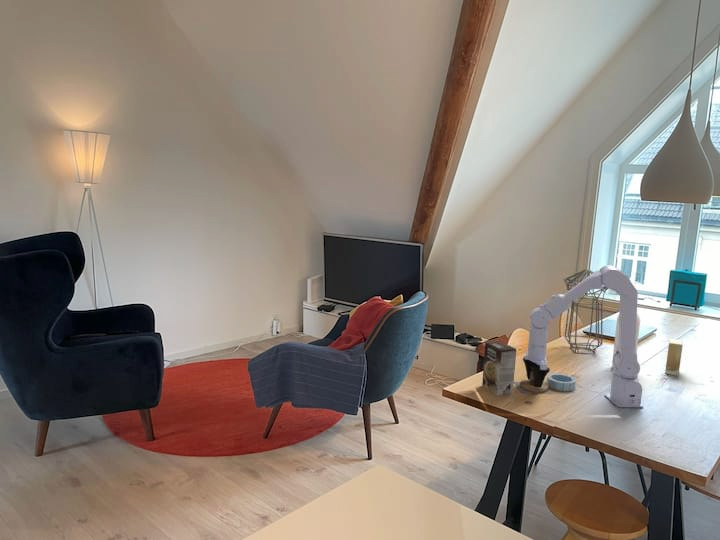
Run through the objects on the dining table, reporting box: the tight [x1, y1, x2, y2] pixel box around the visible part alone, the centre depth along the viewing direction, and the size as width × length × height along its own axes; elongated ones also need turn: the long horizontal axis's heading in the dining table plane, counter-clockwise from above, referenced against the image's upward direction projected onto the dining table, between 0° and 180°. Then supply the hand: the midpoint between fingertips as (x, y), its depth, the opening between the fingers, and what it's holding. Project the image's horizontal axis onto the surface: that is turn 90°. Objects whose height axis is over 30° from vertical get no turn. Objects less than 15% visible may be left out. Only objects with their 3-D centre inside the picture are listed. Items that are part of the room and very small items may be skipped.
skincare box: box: [664, 338, 684, 377], centre depth 194 cm, size 6×4×12 cm
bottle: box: [611, 313, 641, 370], centre depth 195 cm, size 8×8×30 cm
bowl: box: [546, 372, 577, 392], centre depth 177 cm, size 9×9×4 cm
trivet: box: [513, 381, 553, 395], centre depth 175 cm, size 10×10×1 cm
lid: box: [519, 371, 549, 393], centre depth 175 cm, size 9×9×5 cm
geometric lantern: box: [563, 269, 608, 355], centre depth 216 cm, size 16×16×35 cm
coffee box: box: [481, 340, 517, 396], centre depth 172 cm, size 9×6×16 cm
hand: (534, 383), depth 175 cm, fingers open, 6 cm apart
